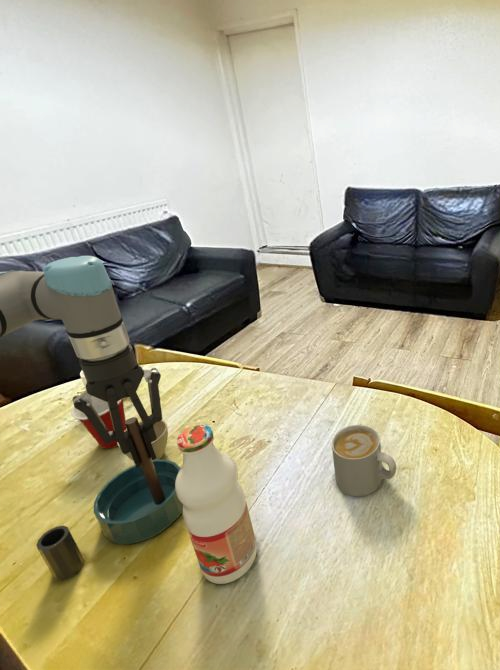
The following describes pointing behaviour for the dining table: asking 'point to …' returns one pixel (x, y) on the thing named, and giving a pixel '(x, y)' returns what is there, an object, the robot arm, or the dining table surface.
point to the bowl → (137, 504)
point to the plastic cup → (104, 414)
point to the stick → (145, 460)
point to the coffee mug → (360, 460)
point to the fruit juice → (214, 507)
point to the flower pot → (161, 439)
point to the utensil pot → (60, 553)
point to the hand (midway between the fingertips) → (144, 458)
